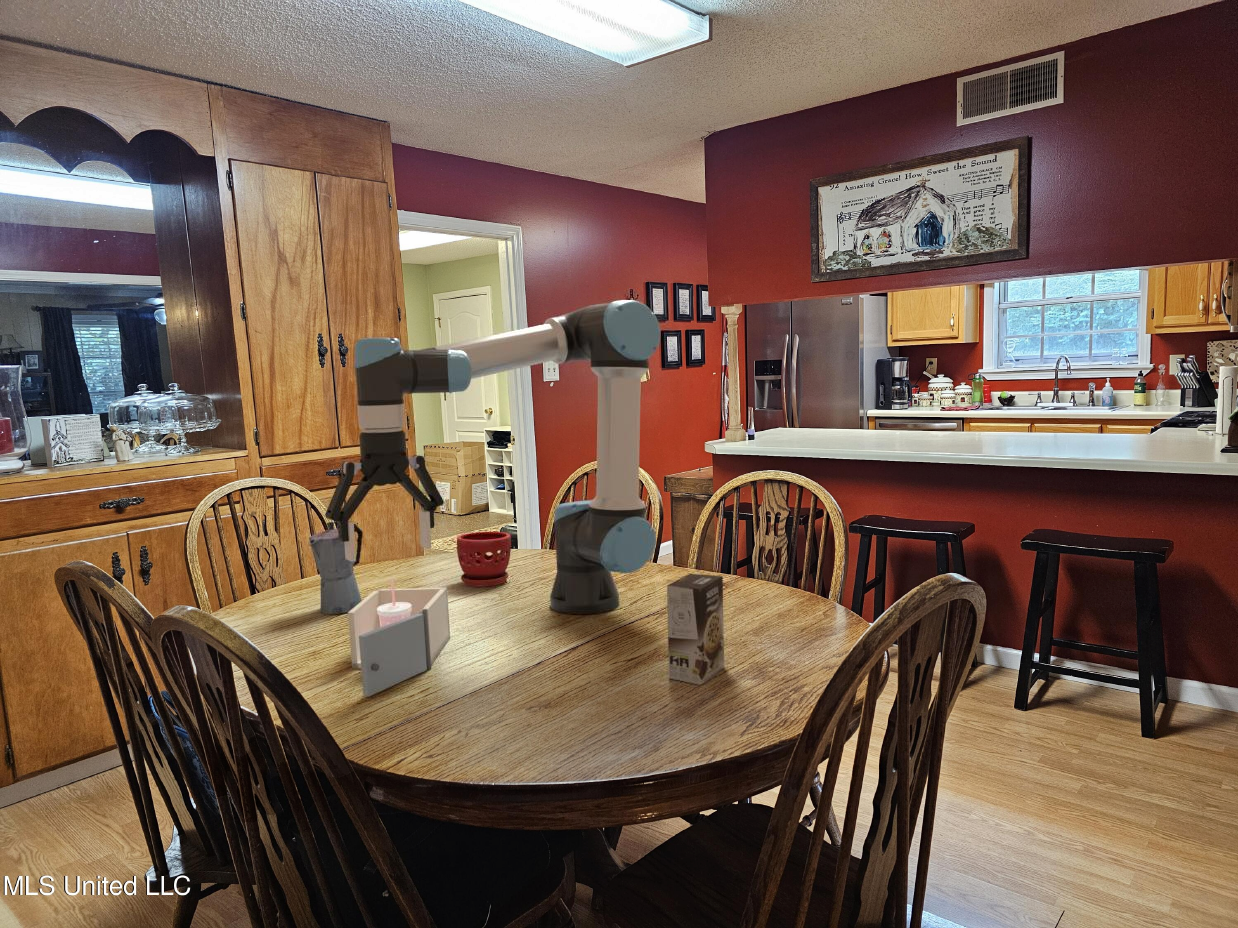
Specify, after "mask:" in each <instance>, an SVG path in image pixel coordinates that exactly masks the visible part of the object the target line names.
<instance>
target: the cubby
mask: <svg viewBox="0 0 1238 928" xmlns="http://www.w3.org/2000/svg"><path fill="white" fill-rule="evenodd" d="M394 592H395V602H406V603H410V604H411V605H412V607H411V608H412V609H411V611H410V616H413V615H415V614H418V613H419V614H423V617H424V632H425V648H426V663H427V670H426V671H431V670H432V665H433V664H434V662H435V661H436V659H437V658H438V656H439V655H440V654H441V652H443V650H444V648H445V647H446V646H447V644H448V642H449V641H450V640H451V631H450V627H451V626H450V614H449V597H448V587H418V588H417V587H412V588H410V587H409V588H408V587H407V588H394ZM361 600H362V601H361V602H360V603H359V604H358V605H356V606H355V607H354V608H353V609H352V610H350V611H349V612H347V616H348V617H347V619H348V620H347V622H348V630H349V631H348V632H349V643H350V644H349V645H350V646H349V647H350V657H351V668H352V669H353V670H354V669H355V670H359V669H360V670H361V659H360V646H359V636H360V635H362V634H365V633H368V632H370V631H373V630H376V629H378V628H380V620H379V615H378V614H377V607H379V606H381V605H384V604H388V603H393V602H392V588H376V589H374V590H373V591H372V592H371V593H369V595H368V596H366V597H364V599H361ZM352 669H351V670H352Z"/></svg>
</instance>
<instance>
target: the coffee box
mask: <svg viewBox="0 0 1238 928" xmlns="http://www.w3.org/2000/svg"><path fill="white" fill-rule="evenodd" d="M723 585H724V576H721V575H714V574H713V575H712V574H711V575H710V574H704V573H703V574H700V573H699V574H697V573H689V574H687V575H685V576H683V577H681V578H679V579H676V580H675V581H672V582H670V583H669V584H667V585H666V587H667V590H666V593H667V594H666V595H667V597H666V598H667V600H666V602H667V645H668V646H667V649H668V650H667V651H668V679H671V680H674V681H681V682H685V683H689V684H694V685H698V686H701V685H703V684H704V683H707V681H708V680H710V679H711V678H712V677H713V676H715V675H716V674H718V673H719V672H720V671H721V670H723V669H724V668H725V640H724V639H725V638H724V637H725V634H724V632H725V631H724V586H723Z"/></svg>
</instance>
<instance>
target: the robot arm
mask: <svg viewBox="0 0 1238 928" xmlns="http://www.w3.org/2000/svg"><path fill="white" fill-rule="evenodd" d="M660 341H661V326H660V323H659V320H658V318H657V316H656V314H655V313H654V312H653V311H652V310H651V309H650V307H648V306H647V305H646V304H644V303H643V302H641V301H638V300H634V299H630V300H628V299H627V300H626V299H621V300H620V299H619V300H618V299H617V300H615V301H611V302H605V303H598V304H593V305H589V306H585V307H582V308H580V309H577V310H573V311H571V312H569V313H564V314H561V315H558V316H554V317H549V318H547V319H546V320H545V321H544V322H543V324H540V325H534V326H529V327H525V328H520V329H515V330H514V329H513V330H510V331H505V332H501V333H495V334H491V335H487V336H481V337H476V338H472V339H467V340H461V341H457V342H452V343H448V344H442V345H437V346H433V347H428V348H421V349H413V350H412V349H402V348H403V347H402V346H401V341H400V339H398V338H397V337H364V338H362V337H361V338H359V339H358V340H357V341H356V342H355V343H354V365H353V368H354V372H355V373H354V374H355V385H356V396H357V397H356V399H357V420H358V429H360V430H362V432H360V434H358V439H359V452H360V460H359V462H351V461H345V460H344V461H343V462H342V464H341V474H340V478H339V479H338V482H337V485H336V487H335V490H334V492H333V494H332V496H331V497H332V498H331V500H330V501H329V504H328V507H327V509H326V511H325V514H324V517H325V519H328V520H331V521H335V522H336V524H337V529H338V534H339V535H338V536H339V540H340V541H342V542H344V544H345V559H347V560H349V561H351V562H353V561H356V554H357V551H356V541H355V538H356V537H355V536H356V535H355V532H354V524H355V522H353V521H351V520H350V519H351V518H352V516H353V515H354V514H355V512H356V510H357V509H358V508H359V507H360V505H361V503H362V502H363V500H364V499H365V498H366V496H367V495H368V494H369V492H370V491H371V490H372V489H374V487H375V486H377V487H382V486H386V485H398V484H399V485H401V487H403V489H404V490H406V492H407V493H408V494H409V495H410V496H411V497H412V498H413V499H414V500H415V502H417V503H418V505H419V506H421V508H422V509H418V523H419V524H418V525H419V539H420V541H419V543H420V547H422V548H425V549H427V550H428V549H432V535H431V529H434V527H435V511H437V509H438V507H441V506H443V505H444V503H445V501H444V499H443V497H442V495H441V493H440V491H439V490H438V488H437V486H436V484H435V482H434V480H433V479H432V477H431V475H430V473H429V471H428V470H427V468H426V467H427V466H426V459H425V456H423V455H419V454H414V455H412V457H411V456H410V457H408V456H407V438H406V437H407V435H406V432H405V431H404V430H402V429H403V428H405V427H406V420H405V419H406V417H405V405H404V404H405V400H404V394H405V395H406V394H407V395H410V394H411V395H412V394H442V393H443V394H445V393H449V394H452V393H460V392H465V391H466V390H468V388H469V386H470V384H471V381H472V380H473V379H476V378H477V379H478V378H481V377H486V376H489V375H490V376H491V375H495V374H499V373H504V372H507V371H513V370H518V369H522V368H525V367H530V366H535V365H538V364H539V365H540V364H543V363H544V364H545V363H547V362H551V361H552V362H553V363H554V364H557V365H561V364H566V363H569V362H571V363H572V362H590V370H591V371H592V372H593V373H594V375H595V376H597V420H596V421H597V426H596V427H597V433H596V435H597V437H596V439H597V440H596V484H595V485H596V491H595V493H596V494H595V496H594V498H593V499H590V500H589V499H588V500H578V501H571V502H565V503H560V504H557V506H555V508H554V518H553V524H554V535H555V536H554V537H555V539H554V540H555V541H554V542H555V556H556V557H555V560H556V573H555V577H554V578H555V579H554V581H553V585H552V587H551V592H550V596H549V599H550V608H551V609H552V610H553V611H555V612H559V613H563V614H568V615H588V614H589V615H592V614H598V613H604V612H608V611H611V610H613V609H615V608H616V607H618V606H619V604H620V597H619V595H620V594H619V589H618V588H617V585H616V583H615V582H616V581H615V580H614V576H613V574H612V572H613V573H619V574H620V573H621V574H631V573H634V572H635V573H636V572H637V571H638V570H640V569H643V567H644V566H645V565H646V564H647V562H648V561H649V560H651V558H652V556H653V554H654V552H655V549H656V543H657V534H656V531H655V529H654V526H652V525H651V523H650V522H649V520H648V519H646V509H647V507H646V503H644V502H643V500H642V499H641V498H640V496H639V491H640V489H639V487H640V486H639V485H640V484H639V483H640V480H639V479H640V445H641V444H640V439H641V437H640V436H641V434H640V433H641V431H640V430H641V389H642V388H641V383H642V382H641V381H642V377H643V376H644V375H645V374H646V373H647V372H649V369H650V368H649V367H650V366H649V361H650V357H652V355H654V354H655V351H656V350H658V348H659V345H660ZM409 466H410V468H411V469H413V471H414V473H415V474H416V476H417V478H418V480H419V482H420V483H421V485H422V487H423V489H424V491H425V494H426V495H427V496H426V495H425V494H424V493H423V491H422V490H421V489H420V488H419V487H418V486H417V485H416V484H415V483H414V481H413V480H412V478H411V477H410V476H408V474H407V473H406V471H407V469H408V468H409ZM359 471H360V472H361V474H362V477H361V479H359V481H358V485H357V486H356V488H355V489H354V490H353V492H352V493H351V495H349V498H348V499H347V501H345V500H346V498H347V496H348V493H349V491H350V488H351V486H352V485H353V484H352V483H353V481H354V477H355V476H356V475H357V474H358V472H359Z"/></svg>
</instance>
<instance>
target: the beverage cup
mask: <svg viewBox="0 0 1238 928" xmlns="http://www.w3.org/2000/svg"><path fill="white" fill-rule="evenodd" d="M390 586H391V588H390V589H392V602H393V603H388V604H384V605H381V606H379V607H377V614H378V615H379V620H380V628H381V627H384V626H386V625H389V624H392V623H394V622H397V621H400V620H402V619H405V618H408V617H410V611H411V609H412V608H411V607H412V605H411V604H410V603H406V602H395V592H394V589H395V580H394V579H391V580H390Z"/></svg>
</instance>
